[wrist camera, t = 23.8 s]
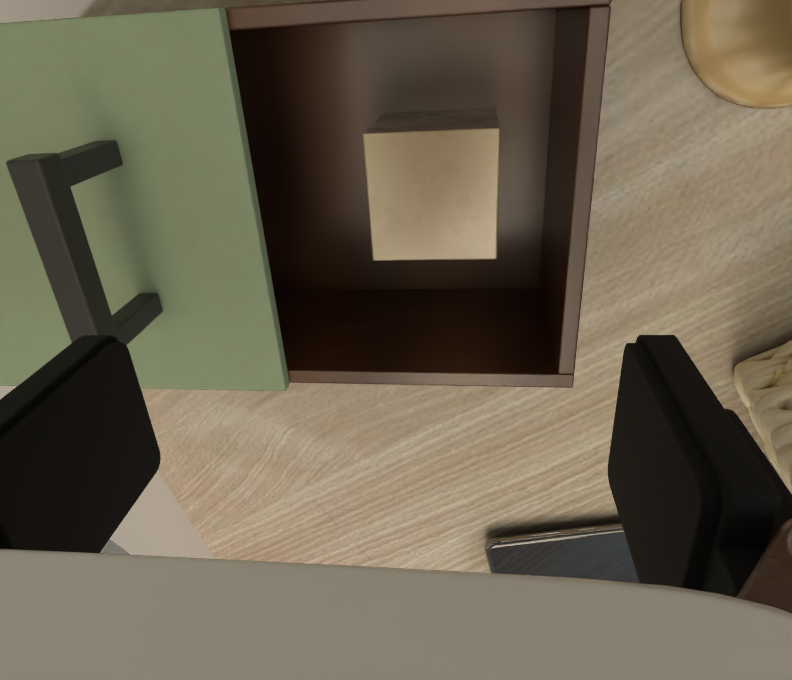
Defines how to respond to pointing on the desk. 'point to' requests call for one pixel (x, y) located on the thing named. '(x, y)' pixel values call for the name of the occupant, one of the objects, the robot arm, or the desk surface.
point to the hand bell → (741, 49)
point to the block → (433, 185)
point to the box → (347, 188)
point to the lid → (132, 202)
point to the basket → (770, 403)
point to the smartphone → (565, 554)
